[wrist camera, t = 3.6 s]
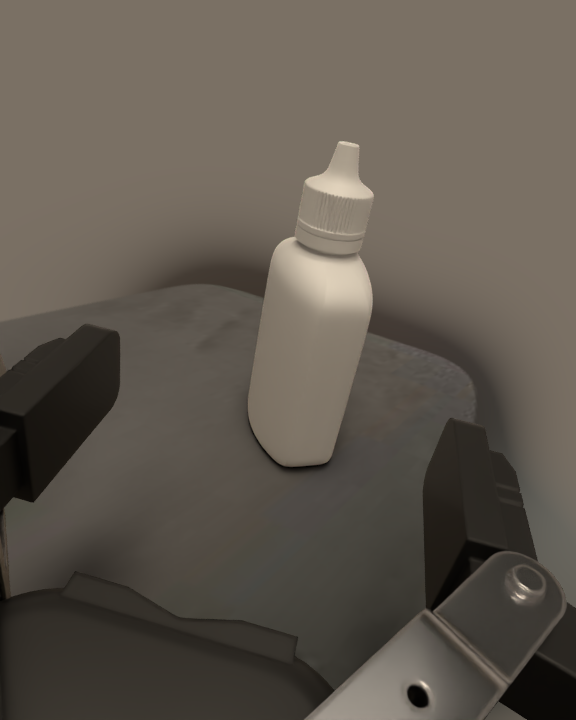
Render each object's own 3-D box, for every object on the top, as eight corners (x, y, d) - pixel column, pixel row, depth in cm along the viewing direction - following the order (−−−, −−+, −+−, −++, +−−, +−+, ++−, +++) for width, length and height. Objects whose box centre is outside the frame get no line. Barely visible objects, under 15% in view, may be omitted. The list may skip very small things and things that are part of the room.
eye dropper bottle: (342, 404, 26) (416, 145, 20) (325, 483, 21) (414, 176, 15) (256, 380, 26) (300, 120, 20) (220, 453, 22) (263, 142, 15)
